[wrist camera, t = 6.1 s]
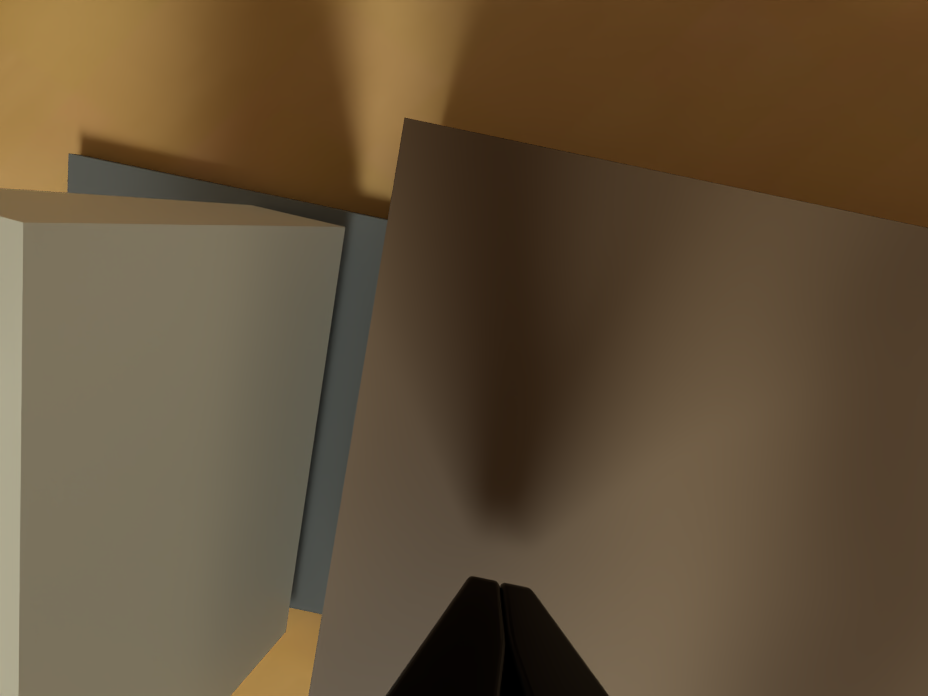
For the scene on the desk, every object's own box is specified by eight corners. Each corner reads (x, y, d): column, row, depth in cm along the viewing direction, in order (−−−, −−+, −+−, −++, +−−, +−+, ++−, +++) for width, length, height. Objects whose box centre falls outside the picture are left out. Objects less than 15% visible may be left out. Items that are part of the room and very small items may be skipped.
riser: (1255, 319, 11) (1665, 384, 7) (989, 795, 14) (1178, 1021, 10) (434, 146, 11) (404, 118, 7) (341, 662, 14) (284, 838, 10)
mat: (410, 224, 11) (408, 224, 11) (343, 609, 14) (339, 617, 13) (79, 154, 11) (68, 153, 11) (66, 551, 14) (57, 559, 13)
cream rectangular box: (22, 223, 5) (-142, 179, 5) (16, 943, 7) (-100, 870, 8) (345, 227, 11) (252, 205, 11) (285, 631, 13) (209, 600, 13)
